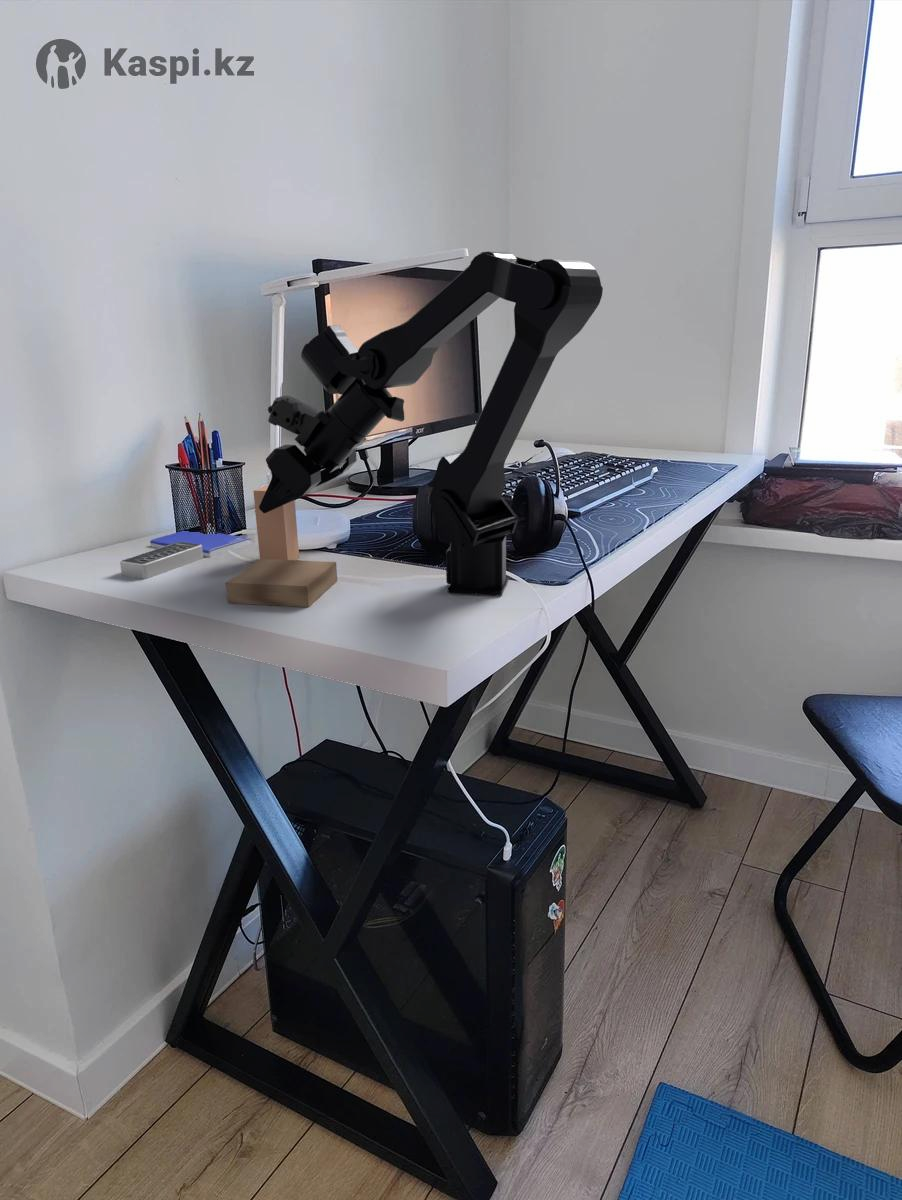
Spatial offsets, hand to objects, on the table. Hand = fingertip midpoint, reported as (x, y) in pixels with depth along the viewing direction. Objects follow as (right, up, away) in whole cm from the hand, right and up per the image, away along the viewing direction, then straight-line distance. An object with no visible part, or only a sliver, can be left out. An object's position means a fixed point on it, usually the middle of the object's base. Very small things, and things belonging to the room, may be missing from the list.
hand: (275, 502), depth 114 cm
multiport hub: (-15, -9, +1) cm, 18 cm away
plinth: (+3, -12, -11) cm, 16 cm away
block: (0, -8, +2) cm, 8 cm away
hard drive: (-13, -6, +11) cm, 18 cm away
